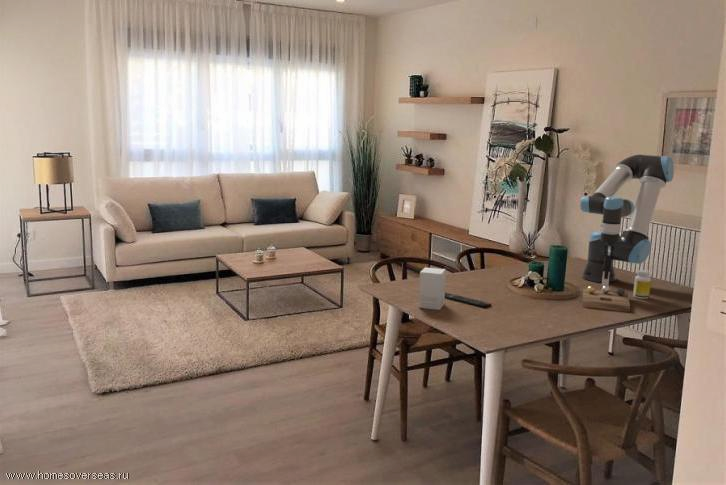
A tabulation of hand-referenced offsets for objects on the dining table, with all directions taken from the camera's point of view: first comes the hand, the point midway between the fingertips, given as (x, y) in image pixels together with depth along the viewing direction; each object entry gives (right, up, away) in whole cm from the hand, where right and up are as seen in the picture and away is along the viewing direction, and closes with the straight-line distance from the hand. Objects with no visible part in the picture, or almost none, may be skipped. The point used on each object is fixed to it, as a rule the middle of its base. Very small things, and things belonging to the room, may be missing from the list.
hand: (605, 285), depth 281 cm
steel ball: (-2, -1, -7) cm, 7 cm away
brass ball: (-9, -1, -8) cm, 12 cm away
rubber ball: (+3, -2, -10) cm, 10 cm away
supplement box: (-78, -7, -21) cm, 81 cm away
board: (-4, -6, -11) cm, 14 cm away
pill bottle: (+15, -5, -2) cm, 16 cm away
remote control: (-64, -6, -13) cm, 66 cm away
